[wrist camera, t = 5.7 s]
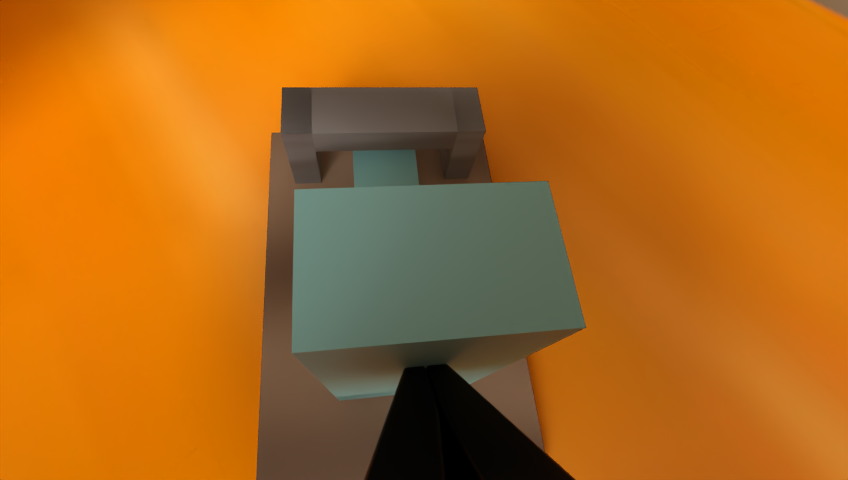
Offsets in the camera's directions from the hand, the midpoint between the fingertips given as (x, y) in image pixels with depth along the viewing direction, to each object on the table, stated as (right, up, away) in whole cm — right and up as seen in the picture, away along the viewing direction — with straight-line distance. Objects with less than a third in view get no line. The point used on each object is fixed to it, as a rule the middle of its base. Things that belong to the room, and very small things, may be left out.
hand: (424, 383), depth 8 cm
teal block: (-1, +2, +7) cm, 8 cm away
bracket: (-1, +1, +8) cm, 8 cm away
